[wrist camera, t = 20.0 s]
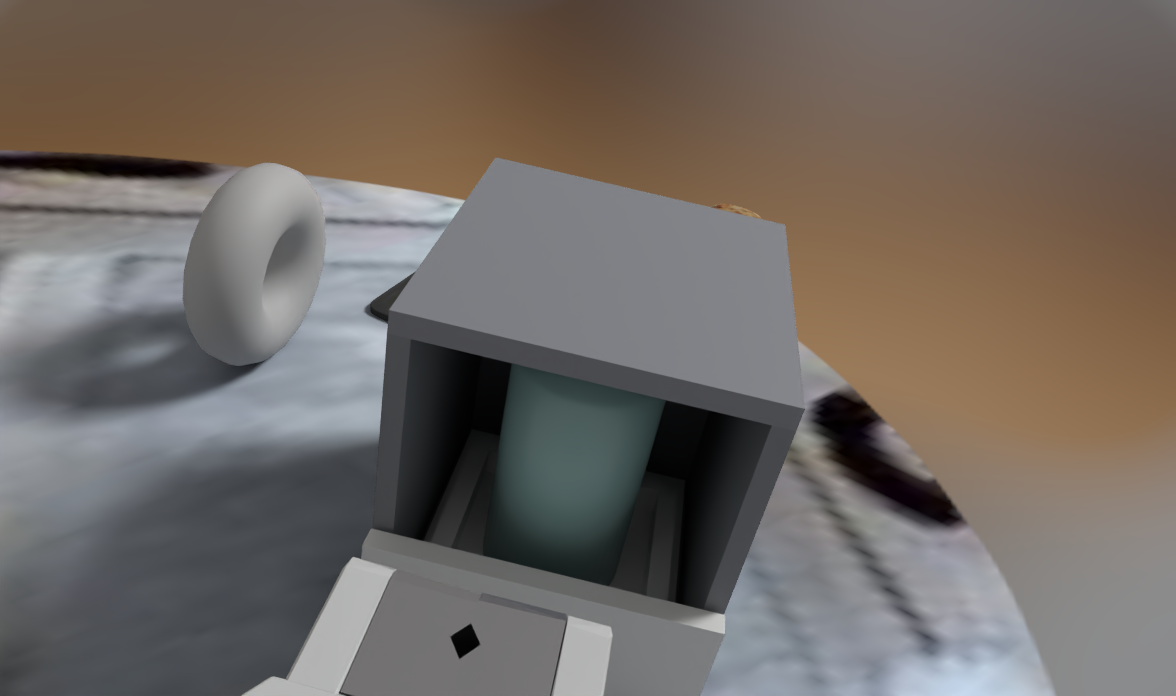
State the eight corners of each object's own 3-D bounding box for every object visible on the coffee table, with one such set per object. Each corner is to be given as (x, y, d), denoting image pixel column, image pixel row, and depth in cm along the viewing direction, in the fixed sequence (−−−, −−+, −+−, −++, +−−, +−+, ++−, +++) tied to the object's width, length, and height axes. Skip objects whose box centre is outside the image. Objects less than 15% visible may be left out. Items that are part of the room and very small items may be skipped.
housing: (684, 714, 32) (804, 408, 25) (364, 634, 33) (389, 309, 25) (698, 484, 43) (785, 224, 36) (459, 426, 44) (495, 157, 36)
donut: (242, 414, 41) (236, 220, 36) (173, 395, 42) (157, 199, 36) (334, 313, 50) (341, 144, 45) (276, 298, 50) (276, 127, 45)
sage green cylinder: (559, 631, 32) (609, 431, 27) (453, 547, 34) (481, 348, 29) (644, 554, 36) (702, 365, 31) (544, 483, 38) (582, 296, 33)
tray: (684, 734, 31) (724, 634, 28) (355, 652, 32) (362, 545, 29) (697, 511, 41) (728, 420, 38) (447, 450, 42) (459, 355, 39)
